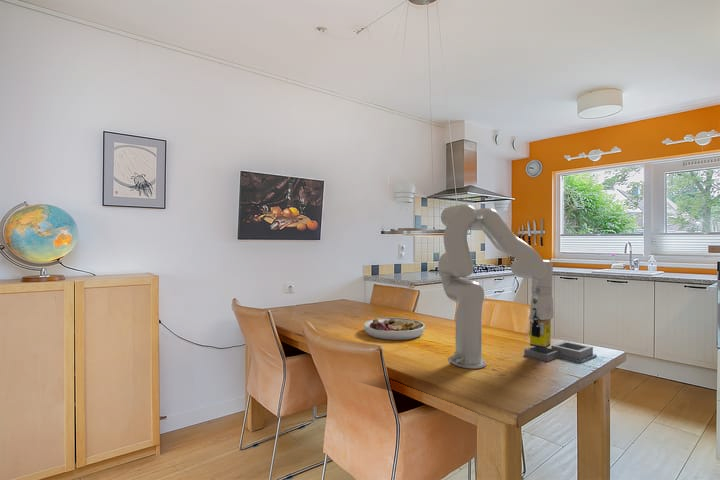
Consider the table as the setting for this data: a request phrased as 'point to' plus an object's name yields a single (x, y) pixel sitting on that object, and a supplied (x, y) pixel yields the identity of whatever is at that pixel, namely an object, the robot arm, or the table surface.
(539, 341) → the supplement box
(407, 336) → the bowl
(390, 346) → the table surface
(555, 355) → the grey square tray
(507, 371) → the table surface
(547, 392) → the table surface
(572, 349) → the block
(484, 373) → the table surface
